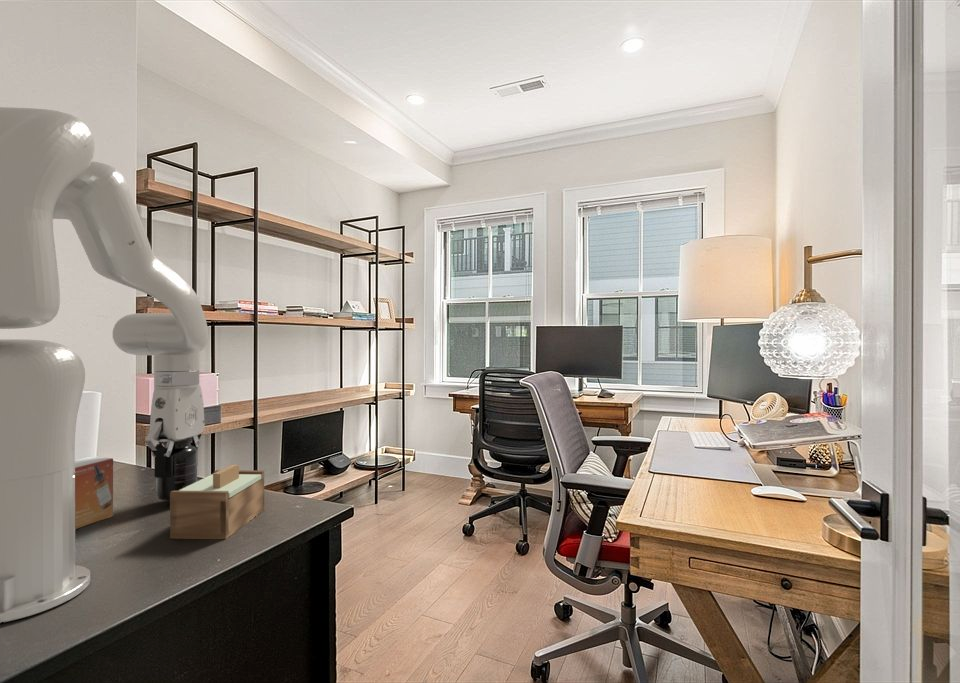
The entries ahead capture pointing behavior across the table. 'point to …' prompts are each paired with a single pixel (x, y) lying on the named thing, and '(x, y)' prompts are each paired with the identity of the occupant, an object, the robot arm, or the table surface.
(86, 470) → the small box
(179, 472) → the supplement bottle
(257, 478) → the lid
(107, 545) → the table surface
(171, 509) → the brown wooden box
